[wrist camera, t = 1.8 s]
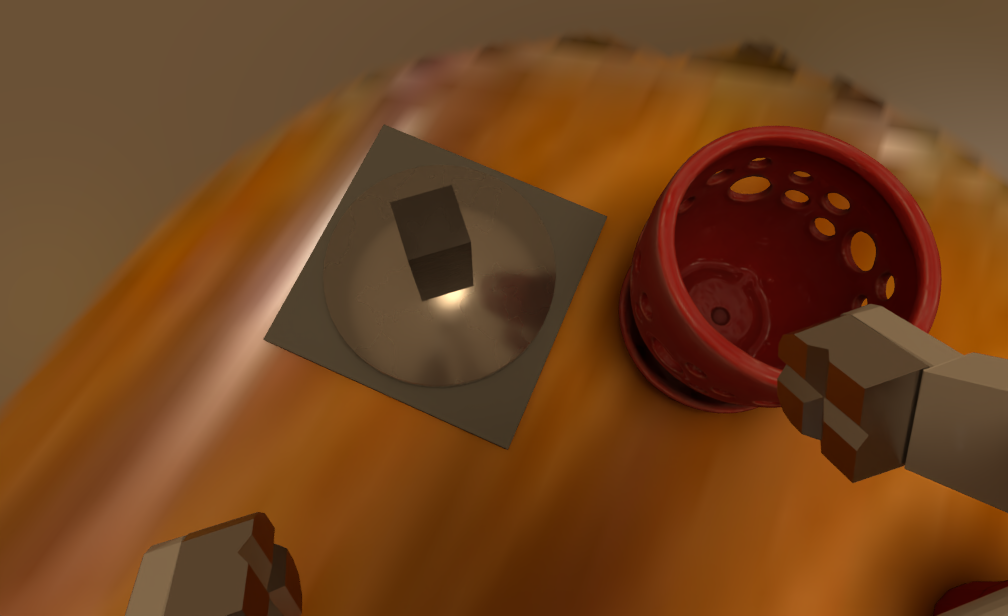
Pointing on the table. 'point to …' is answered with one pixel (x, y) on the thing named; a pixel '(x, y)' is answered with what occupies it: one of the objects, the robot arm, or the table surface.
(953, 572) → the table surface
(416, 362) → the lid
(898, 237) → the plant pot
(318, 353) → the mat
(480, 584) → the table surface
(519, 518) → the table surface
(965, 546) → the table surface
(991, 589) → the plastic cup
